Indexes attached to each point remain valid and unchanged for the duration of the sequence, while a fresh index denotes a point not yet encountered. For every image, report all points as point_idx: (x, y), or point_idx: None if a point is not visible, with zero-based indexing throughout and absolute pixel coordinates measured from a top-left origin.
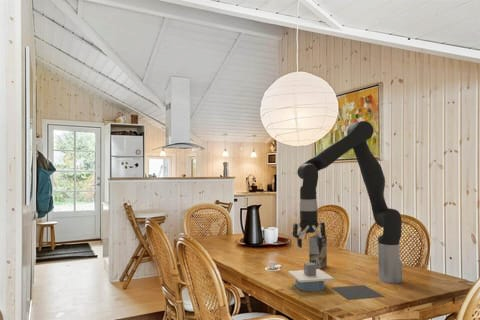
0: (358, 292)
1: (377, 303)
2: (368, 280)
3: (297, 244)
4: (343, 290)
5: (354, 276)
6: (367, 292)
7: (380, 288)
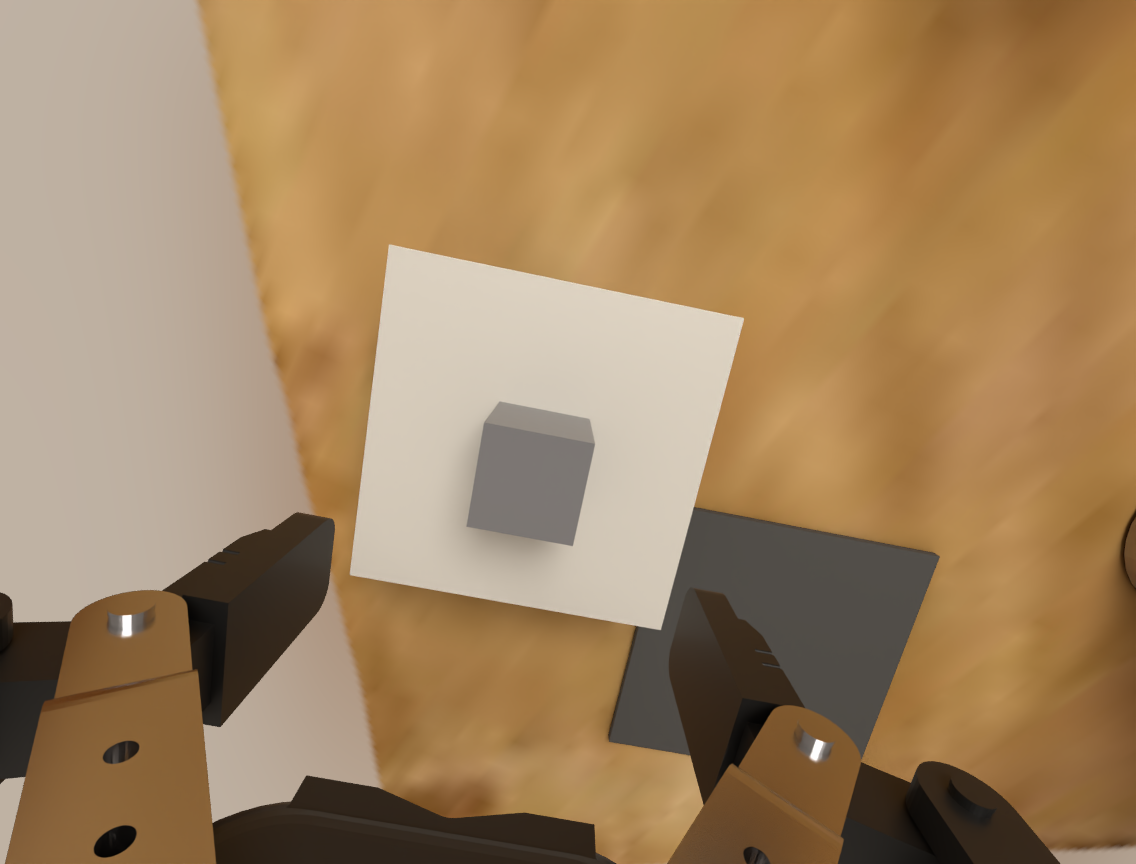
0: None
1: None
2: (1087, 454)
3: (237, 545)
4: None
5: (1092, 309)
6: (824, 686)
7: (987, 634)
